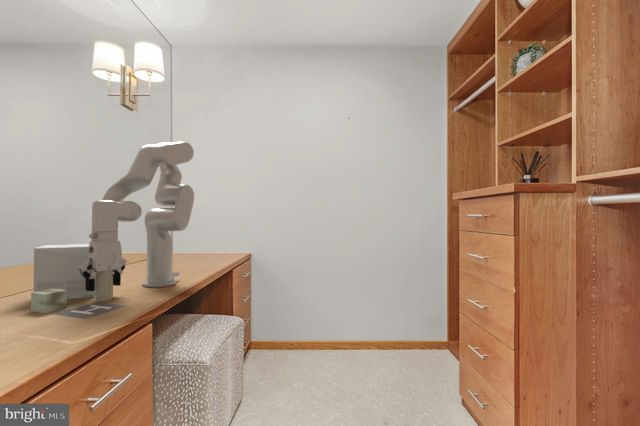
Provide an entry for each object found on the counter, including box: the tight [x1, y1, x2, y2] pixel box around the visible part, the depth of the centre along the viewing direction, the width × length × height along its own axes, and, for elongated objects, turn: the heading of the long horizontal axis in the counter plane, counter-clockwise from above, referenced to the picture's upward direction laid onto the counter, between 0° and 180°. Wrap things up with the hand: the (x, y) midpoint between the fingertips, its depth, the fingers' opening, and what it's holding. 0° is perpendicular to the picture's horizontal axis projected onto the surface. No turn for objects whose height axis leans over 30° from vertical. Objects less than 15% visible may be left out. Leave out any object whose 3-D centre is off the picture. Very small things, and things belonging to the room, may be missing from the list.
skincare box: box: [95, 265, 114, 302], centre depth 116 cm, size 6×4×12 cm
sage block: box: [30, 289, 68, 314], centre depth 103 cm, size 6×6×6 cm
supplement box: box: [33, 243, 96, 300], centre depth 121 cm, size 17×13×18 cm
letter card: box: [52, 301, 127, 320], centre depth 103 cm, size 14×13×1 cm
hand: (103, 287), depth 115 cm, fingers open, 9 cm apart
